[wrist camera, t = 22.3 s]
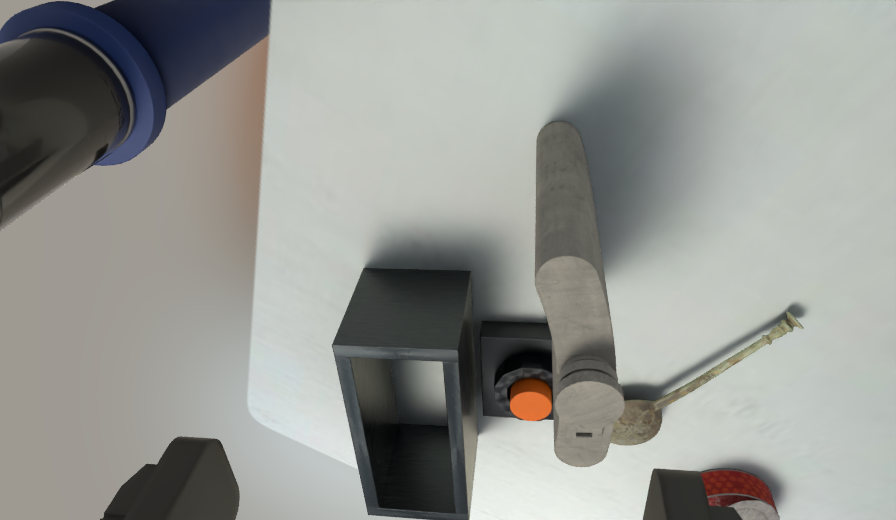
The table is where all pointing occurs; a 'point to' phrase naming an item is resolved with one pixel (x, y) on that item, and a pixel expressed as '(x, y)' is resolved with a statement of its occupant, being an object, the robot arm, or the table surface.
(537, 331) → the control panel
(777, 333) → the soupspoon
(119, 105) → the robot arm
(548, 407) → the button
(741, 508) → the canned food
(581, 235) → the hip flask
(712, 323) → the table surface
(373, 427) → the black storage bin
